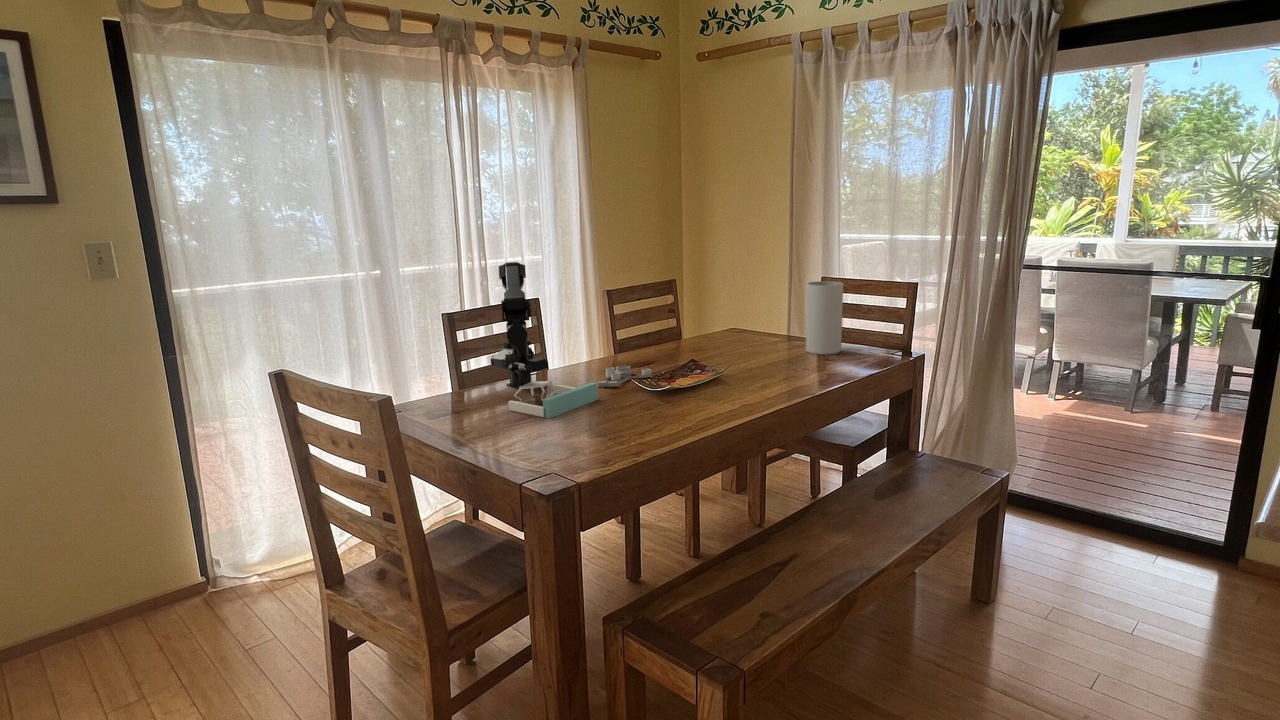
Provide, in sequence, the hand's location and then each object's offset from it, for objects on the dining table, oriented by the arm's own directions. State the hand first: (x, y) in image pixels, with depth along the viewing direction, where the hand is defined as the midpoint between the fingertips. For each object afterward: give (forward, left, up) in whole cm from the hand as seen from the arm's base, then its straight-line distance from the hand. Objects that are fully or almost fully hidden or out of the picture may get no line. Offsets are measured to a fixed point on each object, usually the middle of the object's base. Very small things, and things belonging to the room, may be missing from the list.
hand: (521, 390), depth 210 cm
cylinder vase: (+53, +101, -3) cm, 114 cm away
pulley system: (+15, +35, -3) cm, 38 cm away
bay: (+13, 0, -3) cm, 13 cm away
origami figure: (+4, +1, -3) cm, 5 cm away
